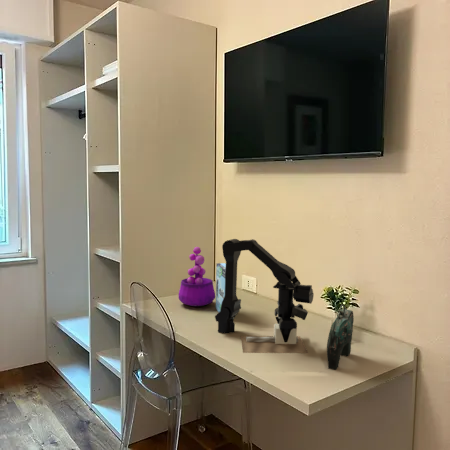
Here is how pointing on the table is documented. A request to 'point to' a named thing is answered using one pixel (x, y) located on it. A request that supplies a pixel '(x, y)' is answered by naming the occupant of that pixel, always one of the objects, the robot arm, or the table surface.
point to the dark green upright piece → (340, 337)
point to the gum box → (220, 284)
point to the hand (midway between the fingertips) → (284, 339)
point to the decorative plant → (196, 284)
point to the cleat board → (270, 345)
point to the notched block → (279, 336)
